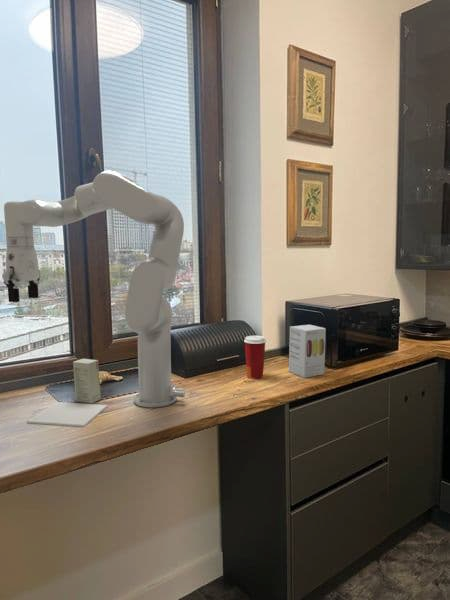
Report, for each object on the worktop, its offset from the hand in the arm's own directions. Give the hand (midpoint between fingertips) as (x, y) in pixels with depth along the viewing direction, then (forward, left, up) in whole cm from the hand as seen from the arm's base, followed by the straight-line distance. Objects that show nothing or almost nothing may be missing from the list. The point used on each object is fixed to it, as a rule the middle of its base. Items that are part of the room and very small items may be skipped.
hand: (24, 299), depth 134 cm
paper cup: (-68, -27, -30) cm, 79 cm away
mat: (-21, +15, -29) cm, 39 cm away
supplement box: (-86, -34, -30) cm, 98 cm away
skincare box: (-21, +4, -30) cm, 37 cm away
